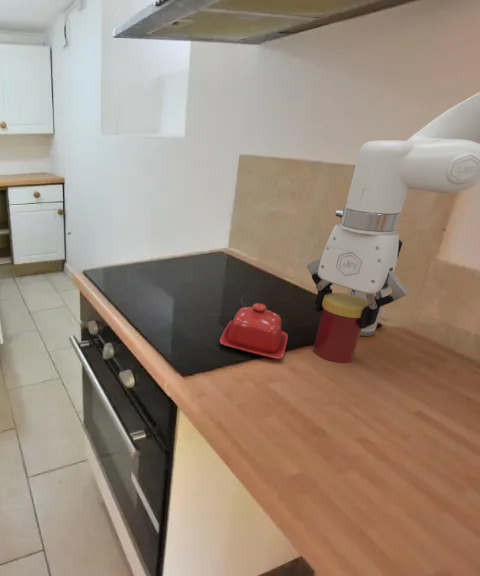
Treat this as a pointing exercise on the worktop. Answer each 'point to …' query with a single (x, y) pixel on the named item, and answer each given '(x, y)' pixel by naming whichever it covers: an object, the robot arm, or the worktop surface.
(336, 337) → the jam jar
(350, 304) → the lid
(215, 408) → the worktop surface
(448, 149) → the robot arm
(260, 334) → the butter dish
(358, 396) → the worktop surface
